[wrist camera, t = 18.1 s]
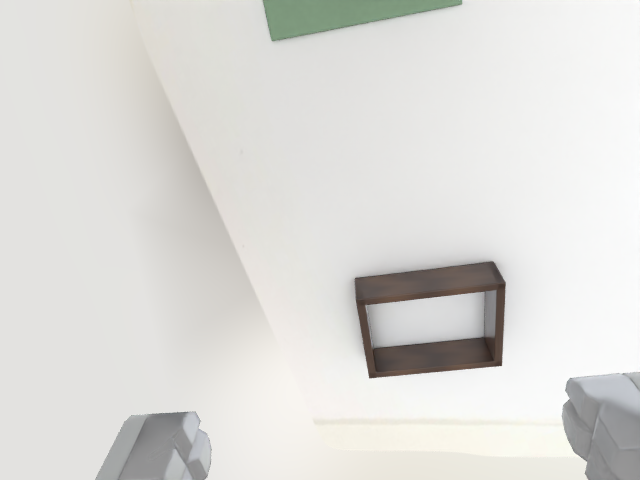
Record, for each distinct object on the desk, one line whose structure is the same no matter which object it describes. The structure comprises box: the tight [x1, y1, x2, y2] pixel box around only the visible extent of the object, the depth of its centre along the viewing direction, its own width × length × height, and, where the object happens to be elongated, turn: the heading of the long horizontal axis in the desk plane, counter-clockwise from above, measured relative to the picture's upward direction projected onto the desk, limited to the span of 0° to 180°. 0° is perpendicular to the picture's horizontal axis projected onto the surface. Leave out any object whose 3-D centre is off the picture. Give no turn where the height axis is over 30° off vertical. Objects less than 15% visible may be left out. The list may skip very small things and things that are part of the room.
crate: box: [355, 262, 506, 378], centre depth 43 cm, size 14×11×4 cm
